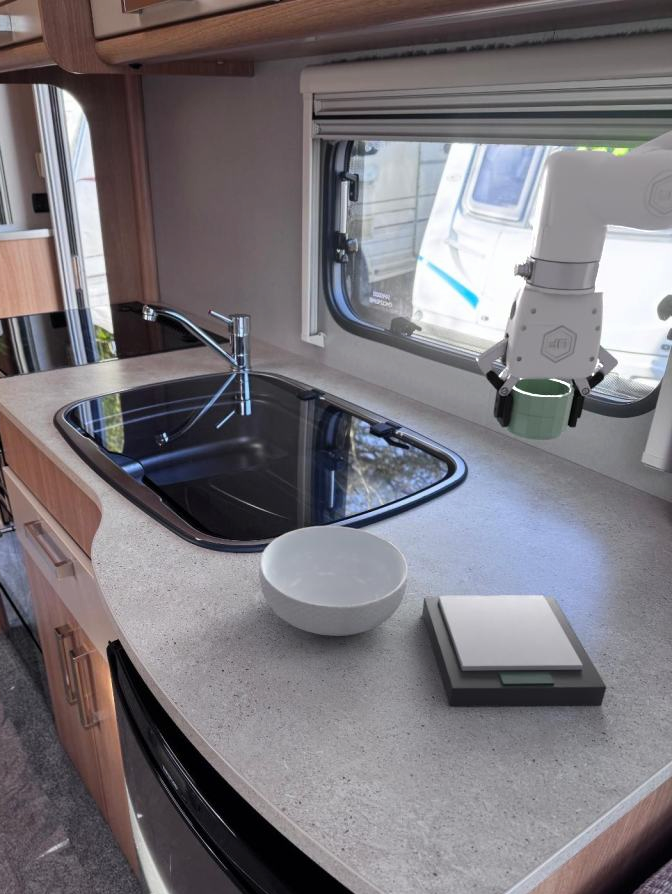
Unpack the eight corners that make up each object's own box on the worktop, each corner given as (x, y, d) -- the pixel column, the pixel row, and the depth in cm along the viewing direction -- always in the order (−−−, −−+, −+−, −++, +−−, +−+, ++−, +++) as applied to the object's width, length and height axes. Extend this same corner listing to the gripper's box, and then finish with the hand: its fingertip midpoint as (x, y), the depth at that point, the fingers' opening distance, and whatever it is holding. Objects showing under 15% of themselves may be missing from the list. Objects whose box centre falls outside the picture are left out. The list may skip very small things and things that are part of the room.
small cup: (554, 418, 92) (562, 376, 90) (574, 441, 86) (583, 397, 83) (496, 418, 92) (502, 376, 90) (512, 441, 86) (519, 397, 83)
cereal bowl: (394, 671, 75) (400, 616, 72) (241, 646, 79) (239, 593, 75) (410, 582, 90) (415, 532, 86) (280, 564, 93) (280, 516, 90)
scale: (550, 613, 84) (555, 592, 83) (601, 705, 71) (608, 682, 70) (422, 614, 84) (424, 593, 82) (449, 707, 71) (453, 683, 69)
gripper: (491, 281, 77) (471, 435, 85) (655, 281, 77) (618, 435, 85) (475, 268, 84) (458, 412, 92) (626, 268, 84) (594, 412, 92)
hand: (535, 422), depth 89 cm, fingers closed on small cup, 7 cm apart
